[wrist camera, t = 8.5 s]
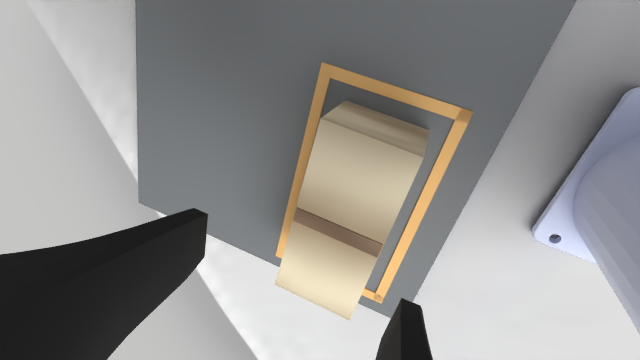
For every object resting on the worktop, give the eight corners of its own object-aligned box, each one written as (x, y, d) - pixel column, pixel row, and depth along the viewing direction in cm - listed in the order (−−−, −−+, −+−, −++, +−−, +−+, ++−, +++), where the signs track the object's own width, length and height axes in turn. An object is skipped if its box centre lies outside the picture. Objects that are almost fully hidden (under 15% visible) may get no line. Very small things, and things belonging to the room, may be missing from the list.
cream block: (365, 273, 22) (349, 321, 18) (301, 244, 23) (274, 285, 19) (429, 130, 17) (423, 158, 14) (345, 100, 18) (320, 118, 14)
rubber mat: (583, -21, 13) (589, -23, 13) (402, 316, 23) (400, 323, 22) (142, -127, 17) (131, -133, 17) (144, 199, 27) (137, 202, 26)
